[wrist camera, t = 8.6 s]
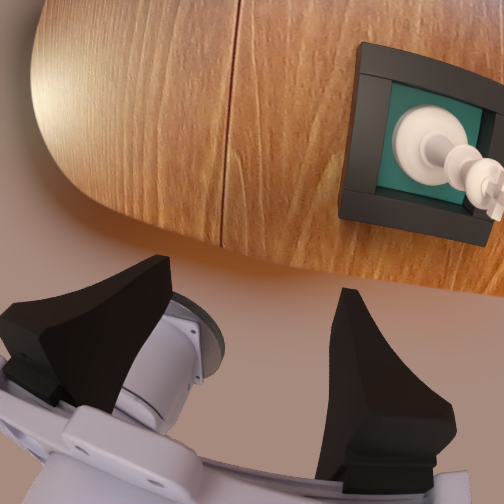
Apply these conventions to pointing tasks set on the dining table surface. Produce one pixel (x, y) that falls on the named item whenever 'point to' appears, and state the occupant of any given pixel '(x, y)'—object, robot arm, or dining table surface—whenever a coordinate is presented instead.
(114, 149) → the dining table surface
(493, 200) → the chess piece
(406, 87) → the tray
